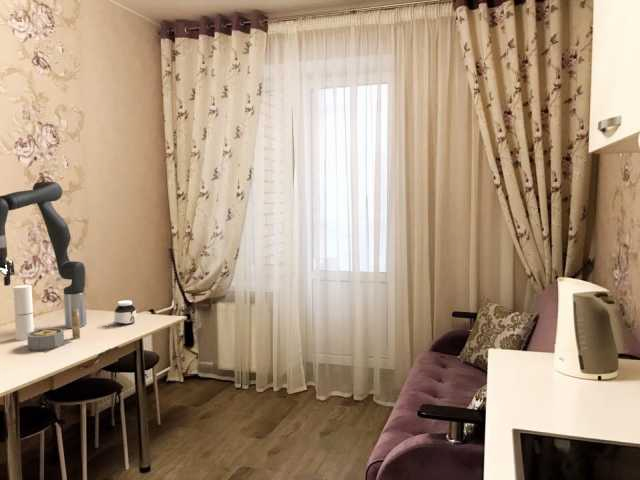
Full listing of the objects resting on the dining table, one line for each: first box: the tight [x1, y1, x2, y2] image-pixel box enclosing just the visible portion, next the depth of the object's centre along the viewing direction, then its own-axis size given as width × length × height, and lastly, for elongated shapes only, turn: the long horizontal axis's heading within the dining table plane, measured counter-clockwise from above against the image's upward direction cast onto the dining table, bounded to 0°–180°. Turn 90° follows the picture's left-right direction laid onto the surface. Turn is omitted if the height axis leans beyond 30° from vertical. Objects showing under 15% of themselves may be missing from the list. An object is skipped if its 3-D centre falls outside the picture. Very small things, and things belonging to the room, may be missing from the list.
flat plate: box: [18, 340, 73, 353], centre depth 218 cm, size 16×14×1 cm
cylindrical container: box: [13, 284, 35, 342], centre depth 228 cm, size 7×7×25 cm
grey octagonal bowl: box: [26, 327, 65, 351], centre depth 218 cm, size 14×14×6 cm
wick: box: [71, 309, 81, 340], centre depth 229 cm, size 3×3×14 cm
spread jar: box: [114, 300, 137, 327], centre depth 260 cm, size 12×11×12 cm
